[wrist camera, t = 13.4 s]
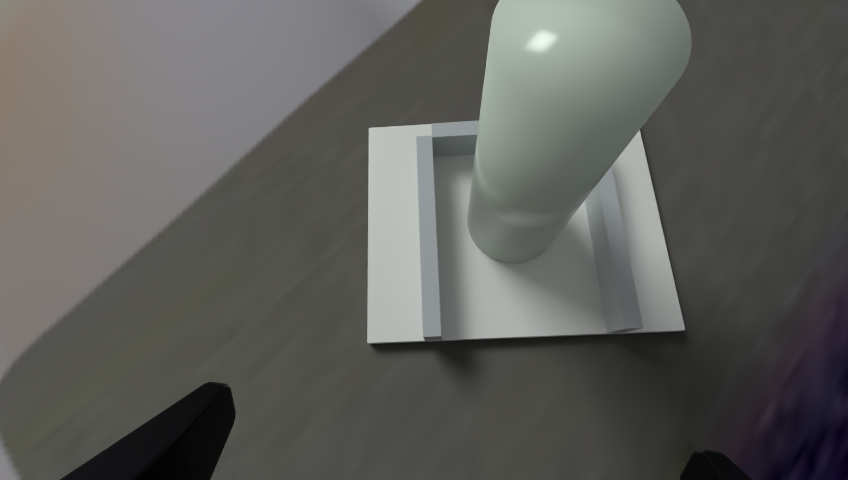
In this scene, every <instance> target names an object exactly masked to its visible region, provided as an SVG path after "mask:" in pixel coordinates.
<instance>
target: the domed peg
mask: <svg viewBox="0 0 848 480" xmlns="http://www.w3.org/2000/svg"><path fill="white" fill-rule="evenodd" d="M690 53H691V32H690V27H689V24H688V21H687V18H686V16H685V14H684V12H683V10H682V8H681V7H680V5H679V4H678V2H677V1H676V0H499V2H498V4H497V6H496V8H495V11H494V14H493V17H492V23H491V30H490V38H489V46H488V54H487V62H486V70H485V78H484V86H483V95H482V103H481V111H480V119H479V127H478V135H477V143H476V151H475V159H474V167H473V175H472V183H471V191H470V199H469V207H468V215H467V225H468V230H469V234H470V236H471V238H472V240H473V241H474V243H475V244H476V246H477V247H478V248H479V249H480V250H481V251H482V252H483V253H485V254H486V255H487V256H489V257H491V258H493V259H495V260H498V261H501V262H506V263H522V262H526V261H529V260H532V259H534V258H536V257H538V256H539V255H541V254H542V253H543V252H544V251H545V250H546V249H547V248H548V247H549V246H550V244H551V243H552V242H553V241H554V239H555V238H556V237H557V235H558V234H559V233H560V232H561V230H562V229H563V228H564V226H565V225H566V224H567V223H568V221H569V220H570V219H571V217H572V216H573V215H574V214H575V212H576V211H577V210H578V208H579V207H580V206H581V205H582V203H583V202H584V201H585V199H586V198H587V197H588V196H589V194H590V193H591V192H592V190H593V189H594V188H595V187H596V185H597V184H598V183H599V181H600V180H601V179H602V178H603V176H604V175H605V174H606V172H607V171H608V170H609V169H610V167H611V166H612V165H613V163H614V162H615V161H616V160H617V158H618V157H619V156H620V155H621V153H622V152H623V151H624V149H625V148H626V147H627V146H628V144H629V143H630V142H631V140H632V139H633V138H634V137H635V135H636V134H637V133H638V131H639V130H640V129H641V128H642V126H643V125H644V124H645V122H646V121H647V120H648V119H649V117H650V116H651V115H652V113H653V112H654V111H655V110H656V108H657V107H658V106H659V104H660V103H661V102H662V101H663V99H664V98H665V97H666V95H667V94H668V93H669V92H670V90H671V89H672V88H673V86H674V85H675V84H676V83H677V81H678V80H679V79H680V77H681V76H682V74H683V72H684V70H685V68H686V67H687V64H688V61H689V58H690Z"/></svg>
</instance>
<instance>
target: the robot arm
mask: <svg viewBox="0 0 848 480" xmlns="http://www.w3.org/2000/svg"><path fill="white" fill-rule="evenodd" d="M234 421H235V407H234V402H233V397H232V393H231V388H230V387H229V386H228V384H223V383H216V382H208V383H205V384H203V385H202V386H200V387H199V388H197V389H196V390H194V391H193V392H191V393H190V394H188V395H187V396H185V397H184V398H182V399H181V400H179V401H178V402H176V403H175V404H173V405H172V406H170V407H169V408H167V409H166V410H164V411H163V412H161V413H160V414H158V415H157V416H155V417H154V418H152V419H151V420H149V421H148V422H146V423H145V424H143V425H142V426H140V427H138V428H137V429H135V430H134V431H132V432H131V433H129V434H128V435H126V436H125V437H123V438H122V439H120V440H119V441H117V442H116V443H114V444H113V445H111V446H110V447H108V448H107V449H105V450H104V451H102V452H101V453H99V454H98V455H96V456H95V457H93V458H92V459H90V460H89V461H87V462H86V463H84V464H83V465H81V466H80V467H78V468H77V469H75V470H74V471H72V472H71V473H69V474H68V475H66V476H65V477H63V478H62V479H60V480H210V479H211V477H212V474H213V472H214V469H215V467H216V465H217V462H218V460H219V457H220V455H221V453H222V450H223V448H224V446H225V443H226V441H227V438H228V436H229V434H230V431H231V429H232V427H233V424H234ZM680 480H752V479H750V478H749V477H748V476H747V475H746V474H745V473H744V472H743V471H742V470H741V469H740V468H739V467H737V466H736V465H735V464H734V463H733V462H732V461H731V460H730V459H729V458H728V457H726V456H725V455H724V454H722V453H720V452H717V451H710V450H703V449H698V450H696V451H694V452H693V454H692V456H691V457H690V459H689V461H688V463H687V464H686V466H685V468H684V470H683V471H682V473H681V476H680Z"/></svg>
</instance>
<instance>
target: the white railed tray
mask: <svg viewBox="0 0 848 480" xmlns="http://www.w3.org/2000/svg"><path fill="white" fill-rule="evenodd" d="M478 127H479V121H466V122H450V123H434V124H427V125H410V126H394V127H378V128H369V197H368V332H367V343H369V344H380V343H405V342H430V341H455V340H479V339H504V338H529V337H554V336H579V335H604V334H629V333H653V332H678V331H684V330H685V327H684V322H683V318H682V314H681V309H680V305H679V300H678V296H677V292H676V287H675V283H674V278H673V274H672V270H671V265H670V261H669V256H668V252H667V248H666V243H665V239H664V234H663V230H662V226H661V221H660V217H659V212H658V208H657V204H656V199H655V195H654V190H653V186H652V182H651V177H650V173H649V168H648V164H647V160H646V155H645V151H644V146H643V142H642V138H641V133H640V130H639V131H638V133H637V134H636V135H635V137H634V138H633V139H632V140H631V142H630V143H629V144H628V146H627V147H626V148H625V149H624V151H623V152H622V153H621V155H620V156H619V157H618V158H617V160H616V161H615V162H614V163H613V165H612V166H611V167H610V169H609V170H608V171H607V172H606V174H605V175H604V176H603V178H602V179H601V180H600V181H599V183H598V184H597V185H596V187H595V188H594V189H593V190H592V192H591V193H590V194H589V196H588V197H587V198H586V199H585V201H584V202H583V203H582V205H581V206H580V207H579V208H578V210H577V211H576V212H575V214H574V215H573V216H572V217H571V219H570V220H569V221H568V223H567V224H566V225H565V226H564V228H563V229H562V230H561V232H560V233H559V234H558V235H557V237H556V238H555V239H554V241H553V242H552V243H551V244H550V246H549V247H548V248H547V249H546V250H545V251H544V252H543V253H542V254H541V255H539V256H538V257H536V258H534V259H532V260H529V261H526V262H522V263H506V262H501V261H498V260H495V259H493V258H491V257H489V256H487V255H486V254H485V253H483V252H482V251H481V250H480V249H479V248H478V247H477V246H476V244H475V243H474V241H473V240H472V238H471V236H470V234H469V230H468V225H467V215H468V207H469V199H470V191H471V183H472V175H473V167H474V159H475V151H476V143H477V135H478Z"/></svg>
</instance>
